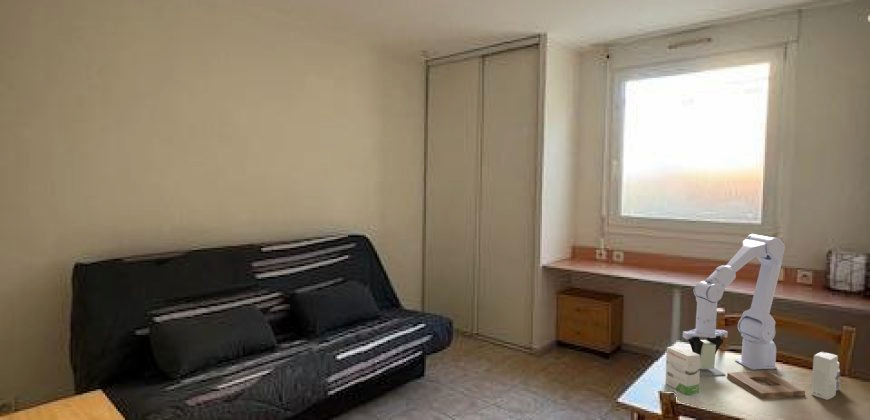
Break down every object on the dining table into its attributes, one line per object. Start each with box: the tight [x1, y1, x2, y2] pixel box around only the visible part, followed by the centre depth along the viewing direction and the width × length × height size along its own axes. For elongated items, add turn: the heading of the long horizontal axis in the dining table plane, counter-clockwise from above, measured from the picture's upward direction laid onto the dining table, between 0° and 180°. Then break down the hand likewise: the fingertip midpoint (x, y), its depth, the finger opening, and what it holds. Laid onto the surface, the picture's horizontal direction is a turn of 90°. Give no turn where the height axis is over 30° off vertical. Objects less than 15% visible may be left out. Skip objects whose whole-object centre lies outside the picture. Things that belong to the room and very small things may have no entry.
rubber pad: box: [699, 367, 726, 378], centre depth 162 cm, size 9×9×1 cm
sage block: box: [700, 339, 716, 369], centre depth 161 cm, size 4×4×8 cm
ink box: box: [665, 345, 700, 396], centre depth 149 cm, size 9×5×12 cm, turn 20°
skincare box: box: [810, 351, 839, 401], centre depth 145 cm, size 6×4×12 cm
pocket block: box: [726, 370, 806, 399], centre depth 151 cm, size 14×14×2 cm
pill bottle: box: [836, 361, 841, 391], centre depth 150 cm, size 5×5×8 cm
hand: (703, 358), depth 162 cm, fingers closed on sage block, 4 cm apart
